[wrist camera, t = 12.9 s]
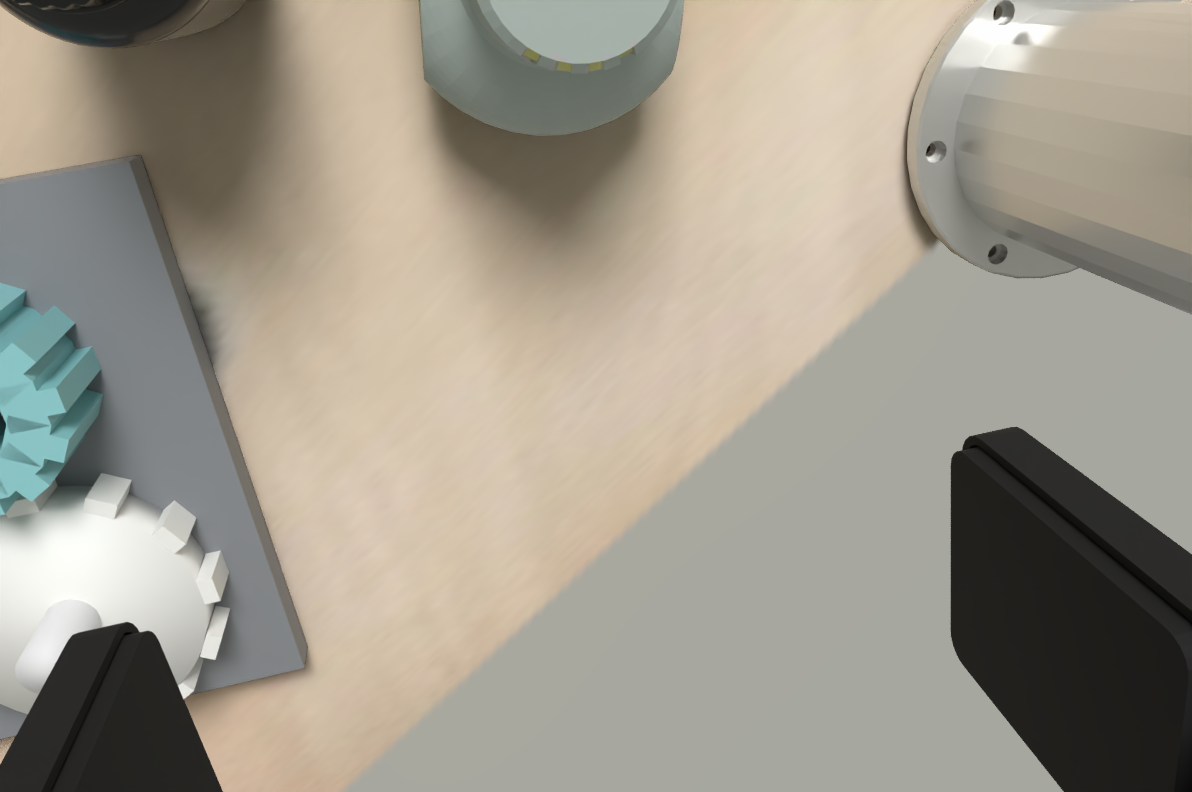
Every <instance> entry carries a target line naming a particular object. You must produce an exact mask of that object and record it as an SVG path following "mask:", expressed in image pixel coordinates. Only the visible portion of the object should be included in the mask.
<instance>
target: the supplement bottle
mask: <svg viewBox="0 0 1192 792" xmlns="http://www.w3.org/2000/svg"><path fill="white" fill-rule="evenodd" d="M245 2H246V0H0V6H1V7H3V8H4V9H5V10H6V11H8V12H9V13H10V14H12V15H13V16H15V17H16V18H18V19H19V20H21V21H22V22H24V23H25V24H27V25H29V26H31V27H33V28H34V29H36V30H38V31H40V32H43V33H45V34H47V35H49V36H52V37H54V38H57V39H60V40H63V41H66V42H70V43H74V44H78V45H83V46H89V47H99V48H126V47H134V46H140V45H145V44H150V43H155V42H159V41H164V40H168V39H173V38H178V37H182V36H187V35H191V34H195V33H198V32H201V31H204V30H207V29H210V28H212V27H214V26H216V25H218V24H220V23H222V22H223V21H225V20H227V19H228V18H229V17H230V16H232V15H233V14H234V13H235V12H236V11H237V10H238V9H239V8H240V7H241V6H242V5H243V4H244V3H245Z"/></svg>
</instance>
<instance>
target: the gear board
mask: <svg viewBox="0 0 1192 792" xmlns="http://www.w3.org/2000/svg"><path fill="white" fill-rule="evenodd" d="M0 283H2V284H6V285H10V286H13V287H17V288H20V289H24V290H26V293H25V298H24V303H23V306H26V307H29V308H33V309H35V310H36V311H37V312H38V313H40V314H41V315H42V316H43V315H44V314H45V313H46V312H47V311H48V310H49V309H50V308H52V307H53V306H54V305H55V306H56V307H57V308H58V309H60V310H61V311H62V312H63V313H64V314H65V315H67V316H68V317H69V318H70V319H71V320H72V321H74V322H75V324H74V325H73V326H72V327H71V328H70V329H69V330H68V331H67V332H66V333H65V335H66V336H67V337H68V338H69V339H71V340H72V342H73V345H74V347H75V350H76V349H81V348H86V347H91V346H93V349H94V352H95V354H96V357H97V359H98V362H99V364H100V367H101V370H100V371H99V372H98V374H97V375H96V376H95V377H94V379H93V380H92V381H91V382H90V384H89V385H88V386H87V387H86V390H90V391H94V392H98V393H102V394H103V398H102V402H101V406H100V411H99V415H98V416H97V418H96V419H95V421H94V422H93V423H92V425H91V426H90V428H89V429H88V430H87V432H86V433H85V434H84V435H86V436H85V438H84V439H83V440H82V442H81V443H80V445H79V446H78V447H77V449H76V450H75V452H74V453H73V454H72V456H71V457H70V459H69V460H68V461H67V463H66V464H65V465H64V467H63V468H62V470H61V471H60V472H59V474H58V475H57V477H56V478H55V479H54V481H53V482H52V484H51V485H50V486H49V487H48V488H47V489H46V490H44V491H43V492H42V493H41V494H40V495H39V496H38V497H36V498H35V499H34V500H33V501H32V502H31V501H29V500H28V499H27V498H25V497H24V496H22V495H21V494H20V496H19V497H18V498H17V499H16V501H15V502H14V503H13V505H12V506H11V507H10V509H9V510H8V511H7V513H6V514H5V515H1V516H0V739H3V738H7V737H12V736H16V735H17V733H18V731H19V729H20V728H21V726H22V724H23V722H24V720H25V718H26V717H27V715H28V713H29V711H30V709H31V707H32V706H33V704H34V702H35V700H36V698H37V696H38V695H39V693H40V691H41V689H42V687H43V685H44V684H45V682H46V680H47V678H48V676H49V674H50V673H51V671H52V669H53V667H54V665H55V663H56V661H57V660H58V658H59V656H60V654H61V652H62V650H63V649H64V647H65V645H66V643H67V641H68V640H69V639H70V637H71V636H72V635H73V634H76V633H79V632H83V631H88V630H92V629H97V628H101V627H106V626H111V625H115V624H120V623H124V622H130V623H133V624H134V625H135V626H136V627H137V628H138V630H139V632H144V631H152V632H153V633H154V634H155V635H156V637H157V638H158V640H159V642H160V645H161V647H162V649H163V652H164V654H165V656H166V659H167V661H168V664H169V666H170V668H171V671H172V673H173V675H174V678H175V680H176V682H177V685H178V687H179V690H180V692H181V694H182V697H183V699H185V698H186V697H187V696H188V695H191V694H195V693H200V692H204V691H208V690H212V689H217V688H221V687H225V686H230V685H234V684H238V683H242V682H247V681H251V680H255V679H259V678H264V677H268V676H272V675H277V674H281V673H285V672H289V671H294V670H298V669H302V668H304V667H305V661H306V654H307V648H308V646H307V643H306V640H305V637H304V634H303V631H302V628H301V625H300V623H299V620H298V617H297V614H296V611H295V608H294V605H293V602H292V599H291V596H290V593H289V590H288V587H287V584H286V581H285V578H284V576H283V573H282V570H281V567H280V564H279V561H278V558H277V555H276V552H275V549H274V546H273V543H272V540H271V537H270V534H269V531H268V528H267V526H266V523H265V520H264V517H263V514H262V511H261V508H260V505H259V502H258V499H257V496H256V493H255V490H254V487H253V484H252V481H251V479H250V476H249V473H248V470H247V467H246V464H245V461H244V458H243V455H242V452H241V449H240V446H239V443H238V440H237V437H236V434H235V432H234V429H233V426H232V423H231V420H230V417H229V414H228V411H227V408H226V405H225V402H224V399H223V396H222V393H221V390H220V387H219V385H218V382H217V379H216V376H215V373H214V370H213V367H212V364H211V361H210V358H209V355H208V352H207V349H206V346H205V343H204V340H203V337H202V335H201V332H200V329H199V326H198V323H197V320H196V317H195V314H194V311H193V308H192V305H191V302H190V299H189V296H188V293H187V290H186V288H185V285H184V282H183V279H182V276H181V273H180V270H179V267H178V264H177V261H176V258H175V255H174V252H173V249H172V246H171V243H170V241H169V238H168V235H167V232H166V229H165V226H164V223H163V220H162V217H161V214H160V211H159V208H158V205H157V202H156V199H155V196H154V194H153V191H152V188H151V185H150V182H149V179H148V176H147V173H146V170H145V167H144V164H143V161H142V158H141V155H135V156H130V157H124V158H118V159H113V160H107V161H101V162H96V163H90V164H84V165H79V166H73V167H67V168H61V169H56V170H50V171H44V172H39V173H33V174H27V175H22V176H16V177H10V178H5V179H0ZM3 421H5V420H4V418H3V416H2V414H1V412H0V422H3Z"/></svg>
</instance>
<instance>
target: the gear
mask: <svg viewBox="0 0 1192 792" xmlns="http://www.w3.org/2000/svg"><path fill="white" fill-rule="evenodd" d="M25 293H26V290H24V289H20V288H17V287H13V286H10V285H6V284H2V283H0V412H1V414H2V416H3V418H4V420H5V421H3V422H0V516H1V515H5V514H6V513H7V511H8V510H9V509H10V507H11V506H12V505H13V503H14V502H15V501H16V499H17V498H18V497H19V496H20V494H21V495H22V496H24V497H25V498H27V499H28V500H29V501H31V502H32V501H33V500H34V499H35V498H36V497H38V496H39V495H40V494H41V493H42V492H43V491H44V490H46V489H47V488H48V487H49V486H50V485H51V484H52V482H53V481H54V479H55V478H56V477H57V475H58V474H59V472H60V471H61V470H62V468H63V467H64V465H65V464H66V463H67V461H68V460H69V459H70V457H71V456H72V454H73V453H74V452H75V450H76V449H77V447H78V446H79V445H80V443H81V442H82V440H83V439H84V438H85V436H86V435H84V434H85V433H86V432H87V430H88V429H89V428H90V426H91V425H92V423H93V422H94V421H95V419H96V418H97V416H98V415H99V411H100V406H101V402H102V398H103V394H102V393H98V392H94V391H90V390H86V387H87V386H88V385H89V384H90V382H91V381H92V380H93V379H94V377H95V376H96V375H97V374H98V372H99V371H100V370H101V367H100V364H99V362H98V359H97V357H96V354H95V352H94V349H93V346H91V347H86V348H81V349H76V350H75V347H74V345H73V342H72V340H71V339H69V338H68V337H67V336H66V335H65V333H66V332H67V331H68V330H69V329H70V328H71V327H72V326H73V325H74V324H75V322H74V321H72V320H71V319H70V318H69V317H68V316H67V315H65V314H64V313H63V312H62V311H61V310H60V309H58V308H57V307H56V306H55V305H54V306H53V307H52V308H50V309H49V310H48V311H47V312H46V313H45V314H44V315H43V316H42V315H41V314H40V313H38V312H37V311H36V310H35V309H33V308H29V307H26V306H23V303H24V298H25Z"/></svg>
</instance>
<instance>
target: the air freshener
mask: <svg viewBox="0 0 1192 792" xmlns="http://www.w3.org/2000/svg"><path fill="white" fill-rule="evenodd" d="M419 8H420V24H421V39H422V53H423V68H424V79H425V81H426V82H427V83H428V84H429V85H430V86H431V87H432V88H433V89H434V90H435V91H436V92H437V93H438V94H439V95H440V96H442V97H443V98H444V99H446V100H447V101H448V102H450V103H451V104H452V105H454V106H455V107H456V108H458V109H459V110H460V111H462V112H464V113H466V114H468V115H470V116H472V117H473V118H475V119H477V120H479V121H481V122H483V123H485V124H488V125H491V126H494V127H497V128H500V129H503V130H506V131H509V132H515V133H521V134H528V135H535V136H551V135H567V134H572V133H577V132H582V131H587V130H590V129H593V128H596V127H598V126H601V125H604V124H606V123H609V122H612V121H614V120H615V119H617V118H619V117H620V116H622V115H624V114H626V113H627V112H629V111H631V110H632V109H634V108H636V107H637V106H638V105H639V104H640V103H642V102H643V101H644V100H645V99H646V98H648V97H649V96H650V95H651V94H652V93H654V92H655V91H656V90H657V89H658V88H659V86H660V85H661V84H662V83H663V82H664V81H665V80H666V78H667V77H668V76H669V75H670V74H671V72H672V70H673V67H674V63H675V59H676V55H677V50H678V45H679V40H680V33H681V25H682V17H683V8H684V0H419Z"/></svg>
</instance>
